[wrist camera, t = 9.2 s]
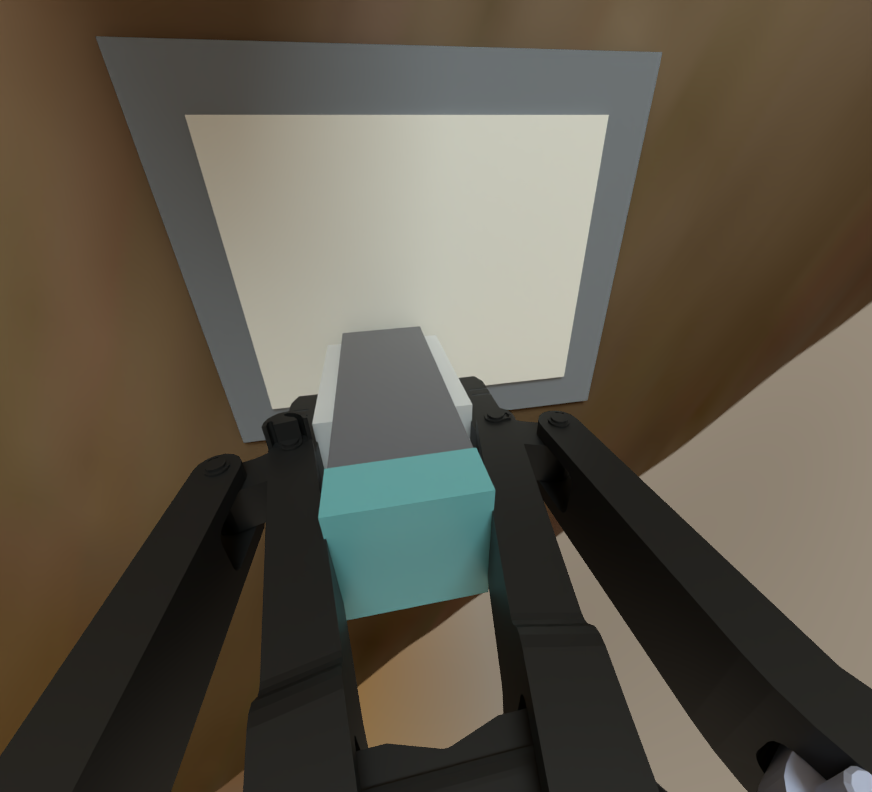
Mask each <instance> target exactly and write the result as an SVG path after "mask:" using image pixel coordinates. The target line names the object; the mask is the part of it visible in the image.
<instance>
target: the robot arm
mask: <svg viewBox="0 0 872 792" xmlns="http://www.w3.org/2000/svg"><path fill="white" fill-rule="evenodd" d="M424 337H425V339H426V341H427V344H428V346H429V348H430V350H431V353H432V355H433V357H434V359H435V362H436V364H437V366H438V369H439V371H440V373H441V375H442V378H443V380H444V382H445V384H446V387H447V389H448V391H449V393H450V396H451V398H452V400H453V403H454V405H455V407H456V409H457V412H458V414H459V416H460V418H461V421H462V423H463V425H464V427H465V430H466V432H467V434H468V437H469V439H470V441H471V443H472V446H473V448H477V451H478V453H479V455H480V457H481V459H482V462H483V464H484V466H485V468H486V470H487V473H488V475H489V477H490V479H491V482H492V484H493V486H494V488H495V502H494V511H492V522H491V536H490V550H489V564H488V584H489V591H490V599H491V606H492V614H493V621H494V628H495V636H496V643H497V651H498V659H499V666H500V674H501V681H502V691H503V712H504V713H503V714H502V715H498V716H497V717H495V718H494V719H492V720H491V721H489V722H488V723H486V724H485V725H483V726H481V727H480V728H478V729H477V730H475V731H474V732H472V733H471V734H469V735H468V736H466V737H465V738H463V739H462V740H460V741H459V742H457V743H456V744H454V745H453V746H451V747H449V748H445V749H437V748H427V747H416V746H406V745H396V744H383V745H379V746H375V747H371V748H368V745H367V741H366V735H365V731H364V726H363V720H362V714H361V708H360V702H359V695H358V689H357V683H356V677H355V670H354V664H353V658H352V651H351V645H350V639H349V633H348V626H347V620H346V614H345V608H344V603H343V599H342V595H341V592H340V588H339V584H338V581H337V577H336V573H335V569H334V566H333V562H332V558H331V555H330V551H329V547H328V544H327V540H326V539H324V538H323V534H322V530H321V527H320V523H319V520H318V515H319V507H320V499H321V491H322V483H323V475H324V469H326V468H327V464H328V456H329V447H330V438H331V430H332V421H333V412H334V403H335V395H336V386H337V377H338V368H339V360H340V351H341V344H335V345H328V346H327V351H326V356H325V362H324V367H323V372H322V377H321V382H320V387H319V392H318V394H316V395H307V396H299V397H298V398H297V399H296V400H295V401H293V402H292V403H291V406H290V409H289V411H287V412H282V413H278V414H275V415H273V416H272V417H270V418H268V419H267V420H266V421H265V422H264V423H263V425H262V427H261V428H262V431H263V434H264V437H265V440H266V443H267V446H268V449H269V451H268V453H267V454H265V455H263V456H261V457H258V458H256V459H253V460H250V461H246V462H243V463H242V461H241V459H240V457H239V456H237V455H234V454H223V455H217V456H214V457H211V458H209V459H207V460H205V461H204V462H202V463H201V464H199V465H198V466H197V467H196V468H195V469H194V470H193V471H192V473H191V474H190V476H189V477H188V479H187V480H186V482H185V483H184V485H183V486H182V488H181V489H180V491H179V492H178V494H177V495H176V497H175V498H174V500H173V501H172V502H171V504H170V505H169V507H168V508H167V510H166V511H165V513H164V514H163V516H162V517H161V519H160V520H159V522H158V523H157V525H156V526H155V528H154V529H153V531H152V532H151V534H150V535H149V537H148V538H147V540H146V541H145V543H144V544H143V545H142V547H141V548H140V550H139V551H138V553H137V554H136V556H135V557H134V559H133V560H132V562H131V563H130V565H129V566H128V568H127V569H126V571H125V572H124V574H123V575H122V577H121V578H120V580H119V581H118V583H117V584H116V585H115V587H114V588H113V590H112V591H111V593H110V594H109V596H108V597H107V599H106V600H105V602H104V603H103V605H102V606H101V608H100V609H99V611H98V612H97V614H96V615H95V617H94V618H93V620H92V621H91V623H90V624H89V625H88V627H87V628H86V630H85V631H84V633H83V634H82V636H81V637H80V639H79V640H78V642H77V643H76V645H75V646H74V648H73V649H72V651H71V652H70V654H69V655H68V657H67V658H66V660H65V661H64V663H63V664H62V666H61V667H60V668H59V670H58V671H57V673H56V674H55V676H54V677H53V679H52V680H51V682H50V683H49V685H48V686H47V688H46V689H45V691H44V692H43V694H42V695H41V697H40V698H39V700H38V701H37V703H36V704H35V706H34V707H33V708H32V710H31V711H30V713H29V714H28V716H27V717H26V719H25V720H24V722H23V723H22V725H21V726H20V728H19V729H18V731H17V732H16V734H15V735H14V737H13V738H12V740H11V741H10V743H9V744H8V746H7V747H6V748H5V750H4V751H3V753H2V754H1V756H0V792H171V790H172V787H173V784H174V781H175V778H176V776H177V773H178V770H179V767H180V764H181V761H182V759H183V756H184V753H185V750H186V747H187V744H188V742H189V739H190V736H191V733H192V730H193V727H194V725H195V722H196V719H197V716H198V713H199V710H200V708H201V705H202V702H203V699H204V696H205V693H206V691H207V688H208V685H209V682H210V679H211V676H212V674H213V671H214V668H215V665H216V662H217V659H218V657H219V654H220V651H221V648H222V645H223V642H224V640H225V637H226V634H227V631H228V628H229V625H230V623H231V620H232V617H233V614H234V611H235V608H236V606H237V603H238V600H239V597H240V594H241V591H242V589H243V586H244V583H245V580H246V577H247V574H248V572H249V569H250V566H251V563H252V560H253V557H254V555H255V552H256V549H257V546H258V543H259V540H260V538H261V535H262V532H263V529H264V524H265V522H266V533H265V560H264V588H263V615H262V642H261V670H260V688H259V693H258V697H257V698H256V699H255V700H254V701H253V702H252V703H251V707H250V710H249V714H248V723H247V734H246V751H245V768H244V786H243V792H667V791H665V790H664V789H663V788H662V787H661V786H660V785H659V784H658V783H657V782H656V781H655V779H654V776H653V773H652V770H651V768H650V765H649V762H648V760H647V757H646V754H645V752H644V749H643V746H642V743H641V740H640V738H639V735H638V732H637V730H636V727H635V724H634V722H633V719H632V716H631V713H630V711H629V708H628V705H627V703H626V700H625V697H624V695H623V692H622V689H621V686H620V684H619V681H618V678H617V676H616V673H615V670H614V667H613V665H612V662H611V660H610V657H609V654H608V651H607V649H606V646H605V644H604V642H603V639H602V637H601V635H600V633H599V631H598V630H597V629H596V627H595V626H593V625H591V624H588V623H587V622H586V621H585V620H584V617H583V615H582V613H581V610H580V607H579V604H578V601H577V598H576V596H575V592H574V589H573V586H572V584H571V581H570V578H569V575H568V572H567V569H566V566H565V563H564V560H563V557H562V554H561V552H560V548H559V546H558V543H557V540H556V537H555V534H554V531H553V528H552V525H551V522H550V519H549V516H548V513H547V510H546V508H545V505H544V502H545V503H546V505H547V506H548V508H549V509H550V511H551V512H552V514H553V515H554V517H555V518H556V520H557V521H558V523H559V524H560V526H561V527H562V529H563V530H564V532H565V533H566V535H567V536H568V538H569V539H570V541H571V542H572V544H573V545H574V546H575V548H576V549H577V551H578V552H579V554H580V555H581V557H582V558H583V560H584V561H585V563H586V564H587V566H588V567H589V569H590V570H591V572H592V573H593V575H594V576H595V578H596V579H597V580H598V582H599V584H600V585H601V586H602V588H603V589H604V591H605V592H606V594H607V595H608V597H609V598H610V600H611V601H612V603H613V604H614V606H615V607H616V609H617V610H618V612H619V613H620V615H621V616H622V618H623V619H624V621H625V622H626V624H627V625H628V627H629V628H630V629H631V631H632V633H633V634H634V636H635V637H636V638H637V640H638V641H639V643H640V644H641V646H642V647H643V649H644V650H645V652H646V653H647V655H648V656H649V658H650V659H651V661H652V662H653V664H654V665H655V667H656V668H657V670H658V671H659V672H660V674H661V676H662V677H663V679H664V680H665V682H666V683H667V684H668V686H669V687H670V689H671V690H672V692H673V693H674V695H675V696H676V698H677V699H678V701H679V702H680V704H681V705H682V707H683V708H684V710H685V711H686V713H687V714H688V716H689V717H690V719H691V720H692V721H693V723H694V724H695V726H696V727H697V728H698V730H699V731H700V732H701V734H702V735H703V737H704V738H705V739H706V741H707V742H708V743H709V745H710V746H711V748H712V749H713V750H714V752H715V753H716V754H717V755H718V756H719V758H720V759H721V760H722V761H723V762H724V764H725V765H726V766H727V767H728V769H729V770H730V771H731V772H732V773H733V775H734V776H735V777H736V778H737V779H738V781H739V782H740V783H741V784H742V785H743V787H744V788H745V789H746V790H747V791H748V792H872V689H871V688H869V687H868V686H867V685H865V684H864V683H862V682H861V681H859V680H858V679H856V678H855V677H854V676H852V675H851V674H849V673H848V672H846V671H845V670H844V669H842V668H841V667H839V666H838V665H837V664H836V663H835V662H834V661H833V660H832V659H831V658H830V657H829V656H828V655H826V653H824V652H823V651H822V650H821V649H820V648H819V647H818V646H817V645H816V644H815V643H814V642H813V641H812V640H811V639H810V638H809V637H808V636H806V635H805V634H804V633H803V632H802V631H801V630H800V629H799V628H798V627H797V626H796V625H795V624H794V623H793V622H792V621H790V620H789V619H788V618H787V617H786V616H785V615H784V614H783V613H782V612H781V611H780V610H779V609H778V608H777V607H776V606H775V605H774V604H773V603H771V602H770V601H769V600H768V599H767V598H766V597H765V596H764V595H763V594H762V593H761V592H760V591H759V590H757V588H756V587H755V586H753V585H752V584H751V583H750V582H749V581H748V580H747V579H746V578H745V577H744V576H743V575H742V574H741V573H740V572H739V571H738V570H736V569H735V568H734V567H733V566H732V565H731V564H730V563H729V562H728V561H727V560H726V559H725V558H724V557H723V556H722V555H721V554H720V553H718V552H717V551H716V550H715V549H714V548H713V547H712V546H711V545H710V544H709V543H708V542H707V541H706V540H705V539H704V538H703V537H702V536H700V535H699V534H698V533H697V532H696V531H695V530H694V529H693V528H692V527H691V526H690V525H689V524H688V523H687V522H686V521H685V520H684V519H682V518H681V517H680V516H679V515H678V514H677V513H676V512H675V511H674V510H673V509H672V508H671V507H670V506H669V505H668V504H667V503H666V502H664V501H663V500H662V499H661V498H660V497H659V496H658V495H657V494H656V493H655V492H654V491H653V490H652V489H651V488H650V487H648V486H647V485H646V484H645V483H644V482H643V481H642V480H641V479H640V478H639V477H638V476H637V475H636V474H635V473H634V472H633V471H632V470H631V469H630V468H628V467H627V466H626V465H625V464H624V463H623V462H622V461H621V460H620V459H619V458H618V457H617V456H616V455H615V454H614V453H613V452H612V451H610V450H609V449H608V448H607V447H606V446H605V445H604V444H603V443H602V442H601V441H600V440H599V439H598V438H597V437H596V436H595V435H593V434H592V433H591V432H590V431H589V430H588V429H587V428H586V427H585V426H584V425H583V424H582V423H581V422H580V421H579V420H578V419H577V418H575V417H574V416H572V415H571V414H568V413H565V412H562V411H548V412H545V413H542V414H541V415H540V416H539V420H538V423H535V422H523V421H517V420H515V417H514V416H513V414H512V413H511V412H509V411H508V410H505V409H502V408H499V406H498V405H497V403H496V401H495V400H494V398H493V397H492V395H491V394H490V392H489V390H488V389H487V387H486V386H485V384H484V383H483V381H482V380H480V379H478V378H477V377H475V376H471V377H461V378H458V376H457V374H456V372H455V370H454V369H453V367H452V365H451V363H450V361H449V359H448V357H447V355H446V353H445V351H444V349H443V347H442V346H441V344H440V342H439V340H438V338H437V336H436V335H433V336H424ZM543 501H544V502H543Z"/></svg>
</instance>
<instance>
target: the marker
mask: <svg viewBox="0 0 872 792" xmlns="http://www.w3.org/2000/svg"><path fill="white" fill-rule="evenodd" d="M494 502H495V488H494V486H493V484H492V482H491V479H490V477H489V475H488V473H487V470H486V468H485V466H484V464H483V462H482V459H481V457H480V455H479V453H478V451H477V448H473V446H472V443H471V441H470V439H469V437H468V434H467V432H466V430H465V427H464V425H463V423H462V421H461V418H460V416H459V414H458V412H457V409H456V407H455V405H454V403H453V400H452V398H451V396H450V393H449V391H448V389H447V387H446V384H445V382H444V380H443V378H442V375H441V373H440V371H439V369H438V366H437V364H436V362H435V359H434V357H433V355H432V353H431V350H430V348H429V346H428V344H427V341H426V339H425V337H424V335H423V332H422V330H421V328H420V326H417V327H406V328H395V329H383V330H372V331H361V332H350V333H343V334H342V342H341V351H340V360H339V368H338V377H337V386H336V395H335V403H334V412H333V421H332V430H331V438H330V447H329V456H328V464H327V468H326V469H324V475H323V483H322V491H321V499H320V507H319V515H318V520H319V523H320V527H321V530H322V534H323V538H324V539H326V540H327V544H328V547H329V551H330V555H331V558H332V562H333V566H334V569H335V573H336V577H337V581H338V584H339V588H340V592H341V595H342V599H343V603H344V608H345V614H346V620H351V619H356V618H361V617H366V616H371V615H376V614H381V613H386V612H391V611H396V610H401V609H406V608H411V607H416V606H421V605H426V604H431V603H436V602H441V601H446V600H451V599H456V598H461V597H466V596H470V595H475V594H480V593H485V592H488V564H489V550H490V536H491V522H492V511H494Z"/></svg>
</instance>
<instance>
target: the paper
mask: <svg viewBox="0 0 872 792" xmlns="http://www.w3.org/2000/svg"><path fill="white" fill-rule="evenodd" d="M95 37H96V40H97V42H98V45H99V48H100V50H101V53H102V56H103V59H104V61H105V64H106V67H107V70H108V72H109V75H110V78H111V81H112V83H113V86H114V89H115V92H116V94H117V97H118V100H119V103H120V105H121V108H122V111H123V113H124V116H125V119H126V122H127V124H128V127H129V130H130V133H131V135H132V138H133V141H134V144H135V146H136V149H137V152H138V155H139V157H140V160H141V163H142V166H143V168H144V171H145V174H146V176H147V179H148V182H149V185H150V187H151V190H152V193H153V196H154V198H155V201H156V204H157V207H158V209H159V212H160V215H161V218H162V220H163V223H164V226H165V229H166V231H167V234H168V237H169V239H170V242H171V245H172V248H173V250H174V253H175V256H176V259H177V261H178V264H179V267H180V270H181V272H182V275H183V278H184V281H185V283H186V286H187V289H188V291H189V294H190V297H191V300H192V302H193V305H194V308H195V311H196V313H197V316H198V319H199V322H200V324H201V327H202V330H203V333H204V335H205V338H206V341H207V344H208V346H209V349H210V352H211V354H212V357H213V360H214V363H215V365H216V368H217V371H218V374H219V376H220V379H221V382H222V385H223V387H224V390H225V393H226V396H227V398H228V401H229V404H230V407H231V409H232V412H233V415H234V417H235V420H236V423H237V426H238V428H239V431H240V434H241V437H242V439H243V442H244V443H245V442H254V441H262V440H265V437H264V434H263V431H262V428H261V427H262V425H263V423H264V422H265V421H266V420H267V419H268V418H270V417H272V416H273V415H275V414H278V413H282V412H287V411H289V409H290V406H291V403H292V402H293V401H295V400H296V399H297V398H298V397H299V396H307V395H316V394H318V392H319V387H320V382H321V377H322V372H323V367H324V362H325V356H326V351H327V346H328V345H335V344H341V342H342V334H343V333H350V332H361V331H372V330H383V329H395V328H406V327H417V326H420V328H421V330H422V332H423V335H424V336H433V335H436V336H437V338H438V340H439V342H440V344H441V346H442V347H443V349H444V351H445V353H446V355H447V357H448V359H449V361H450V363H451V365H452V367H453V369H454V370H455V372H456V374H457V376H458V378H461V377H471V376H475V377H477V378H478V379H480V380H482V381H483V383H484V384H485V386H486V387H487V389H488V390H489V392H490V394H491V395H492V397H493V398H494V400H495V401H496V403H497V405H498V406H499V408H502V409H505V410H513V409H521V408H529V407H537V406H545V405H553V404H561V403H569V402H578V401H586V400H587V399H588V395H589V390H590V385H591V381H592V376H593V371H594V367H595V362H596V358H597V353H598V348H599V344H600V339H601V334H602V330H603V325H604V320H605V316H606V311H607V307H608V302H609V297H610V293H611V288H612V283H613V279H614V274H615V269H616V265H617V260H618V256H619V251H620V246H621V242H622V237H623V232H624V228H625V223H626V218H627V214H628V209H629V205H630V200H631V195H632V191H633V186H634V181H635V177H636V172H637V167H638V163H639V158H640V154H641V149H642V144H643V140H644V135H645V130H646V126H647V121H648V116H649V112H650V107H651V103H652V98H653V93H654V89H655V84H656V79H657V75H658V70H659V65H660V61H661V56H662V52H631V51H595V50H560V49H524V48H489V47H453V46H418V45H383V44H347V43H312V42H276V41H241V40H205V39H170V38H134V37H99V36H95Z"/></svg>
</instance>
